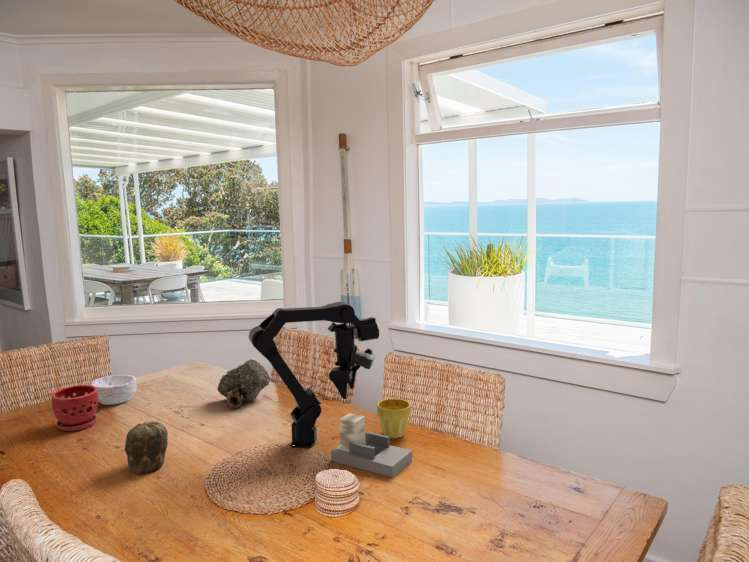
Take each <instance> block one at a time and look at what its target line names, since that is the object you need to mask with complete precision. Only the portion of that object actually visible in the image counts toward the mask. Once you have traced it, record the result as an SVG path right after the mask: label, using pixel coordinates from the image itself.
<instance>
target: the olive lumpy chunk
mask: <svg viewBox="0 0 749 562" xmlns="http://www.w3.org/2000/svg"><path fill="white" fill-rule="evenodd" d="M168 435H169V434H168V429H167V427H166V426H165V425H164V424H163V423H162V422H159V421H157V420H151V421H148V420H147V421H144V422H143V423H138V424H135V426H134V427H132V428H131V429H129V431H127V434H126V438H125V446H124V451H125V454H126V458H127V465H128V469H130V471H131V472H132V473H134V474H138V475H144V474H147V473H148V474H149V473H151V472H155V471H157V470H159V469H160V468H161V467H162V466H163V465H164V463H165V457H166V453H167V448H168V443H169V442H168Z"/></svg>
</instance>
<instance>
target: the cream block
mask: <svg viewBox="0 0 749 562" xmlns="http://www.w3.org/2000/svg"><path fill="white" fill-rule="evenodd" d="M365 427H366V426H365V416H363V415H359V414H355V413H350V412H349V413H347V414H345V415H344V416H342V417H341V418H339V445H340V447H344V448H348V449H349V443H350V442H355V443H359V444H363V445H364V444H365V432H366V431H365Z"/></svg>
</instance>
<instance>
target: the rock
mask: <svg viewBox="0 0 749 562" xmlns="http://www.w3.org/2000/svg"><path fill="white" fill-rule="evenodd" d="M271 381H272V378H271V376H270V374H269V372H268V370H266V369H265V366H264V365H263V364H262V363H260V362H258V361H257V360H255V359H248V360H246V361H245V362H244V363H243V364H240V365H238V366H237V367H235V368H232V369H230V370H227V371H226V374H223V375H222V376H221V378H220V379H219V383H218V386H217V388H216V390H217V392H218V393H219V394H220V396H223V397H224V398H226V399H225V400H226V404H227V405H228V406H229V408H231V409H237V408H240V407H241V405H242V401H247V402H248V401H253V400H256V399H257V397H258V396H259V394H260V392H261V391H262V390H264V389H265V388H266V387H267V386H269V385H270V382H271ZM252 399H253V400H252Z"/></svg>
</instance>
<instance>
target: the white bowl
mask: <svg viewBox="0 0 749 562" xmlns="http://www.w3.org/2000/svg"><path fill="white" fill-rule="evenodd" d="M90 385H91V386H95V387H96V388H97V390H98V403H99V404H101V405H104V406H112V405H113V406H114V405H119V404H124V403H126V402H128V401H129V400H130V399H131V397H132V395H133V394H135V393H136V392H137V390H138V388H137V386H138V384H137V377H136V376H134V375H131V374H112V375H111V374H110V375H106V376H103V377H99V378H97V379H94V380H92V381H91V383H90Z"/></svg>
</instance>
